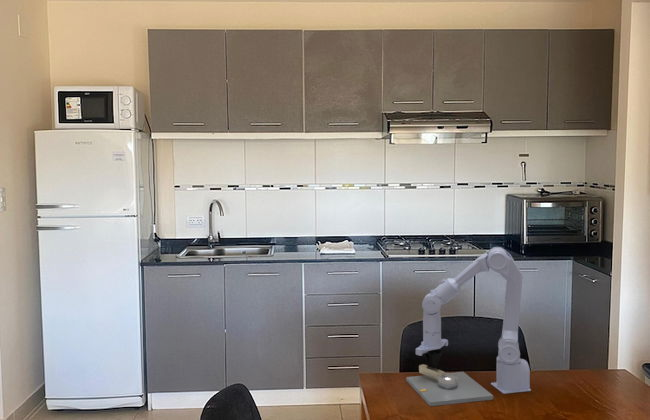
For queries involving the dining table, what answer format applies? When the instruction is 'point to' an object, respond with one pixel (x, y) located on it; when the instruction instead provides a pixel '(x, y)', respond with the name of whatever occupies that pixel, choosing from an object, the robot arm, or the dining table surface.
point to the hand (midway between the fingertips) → (432, 371)
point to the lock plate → (449, 390)
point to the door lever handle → (440, 377)
